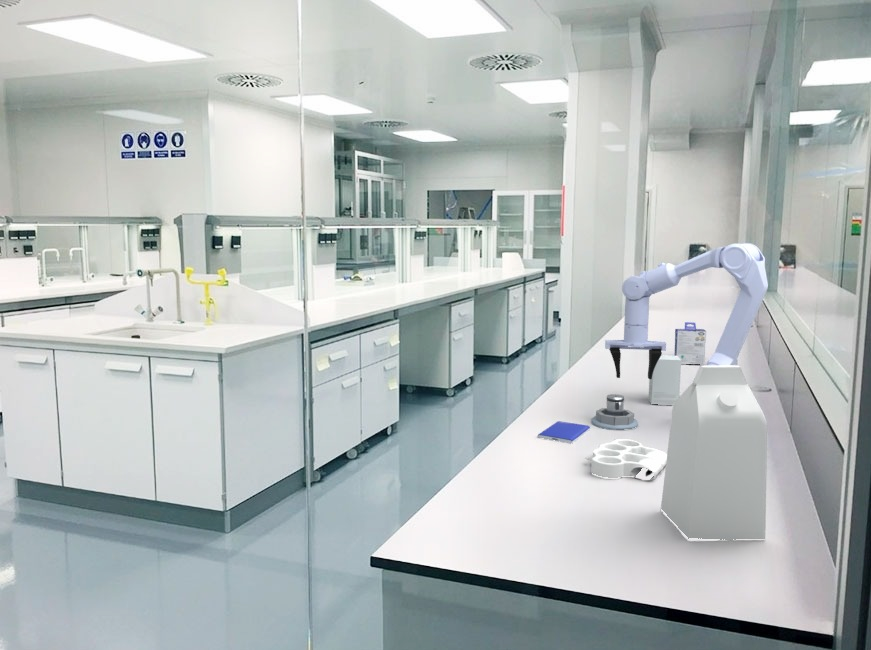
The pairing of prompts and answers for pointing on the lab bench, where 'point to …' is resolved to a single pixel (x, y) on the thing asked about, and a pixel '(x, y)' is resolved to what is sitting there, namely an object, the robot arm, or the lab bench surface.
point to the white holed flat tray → (625, 459)
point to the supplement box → (665, 381)
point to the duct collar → (614, 420)
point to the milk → (717, 458)
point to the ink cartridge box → (690, 344)
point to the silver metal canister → (615, 405)
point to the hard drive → (564, 432)
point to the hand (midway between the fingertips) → (633, 377)
